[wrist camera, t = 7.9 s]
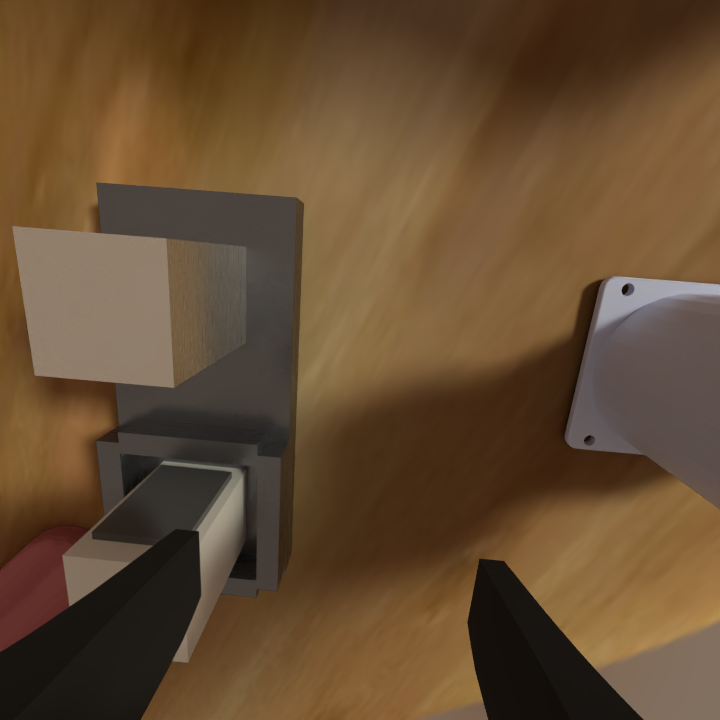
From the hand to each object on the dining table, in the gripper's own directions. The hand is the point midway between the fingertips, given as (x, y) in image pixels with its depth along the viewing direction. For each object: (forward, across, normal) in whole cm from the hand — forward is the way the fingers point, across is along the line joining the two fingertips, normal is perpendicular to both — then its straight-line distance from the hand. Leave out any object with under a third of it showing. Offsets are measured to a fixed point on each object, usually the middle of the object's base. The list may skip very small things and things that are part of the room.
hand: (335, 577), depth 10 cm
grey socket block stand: (+9, +7, -2) cm, 12 cm away
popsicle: (+10, +19, +14) cm, 25 cm away
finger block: (+8, +7, +4) cm, 11 cm away
